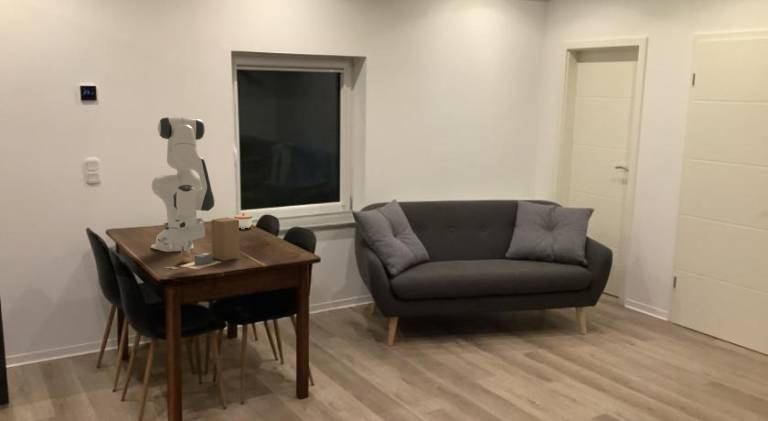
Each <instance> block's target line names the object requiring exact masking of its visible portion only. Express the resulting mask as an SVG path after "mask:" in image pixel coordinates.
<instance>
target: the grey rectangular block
mask: <svg viewBox="0 0 768 421" xmlns="http://www.w3.org/2000/svg"><path fill="white" fill-rule="evenodd" d="M193 258H194V261H195V264H198V265H206V264H209V263H212V262H213V261H214V258H213V254H212V253H208V252H203V253H199V254H196V255H194V257H193Z"/></svg>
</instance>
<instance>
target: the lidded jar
mask: <svg viewBox="0 0 768 421" xmlns="http://www.w3.org/2000/svg"><path fill="white" fill-rule="evenodd" d="M233 219H237V220H239V228H241V229H240V230H246V229H245V228H248V229H249V228H250V227H251V226H252V223H253V215H252V214H247V213H246V214H245V212H242V213H241V214H236V215H234V218H233Z"/></svg>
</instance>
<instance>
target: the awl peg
mask: <svg viewBox="0 0 768 421" xmlns="http://www.w3.org/2000/svg"><path fill="white" fill-rule="evenodd" d="M180 260H181V263H183V264H187V263H190V262H191V250H188V251H184V247H183V245H182V249H181V251H180Z"/></svg>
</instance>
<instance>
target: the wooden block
mask: <svg viewBox="0 0 768 421" xmlns="http://www.w3.org/2000/svg"><path fill="white" fill-rule="evenodd" d="M210 224H211V226H210V228H211V254H213V259H216V260H219V261H228V260H240V257H241V256H240V255H241V254H240V250H241V249H240V229H239V220H237V219H235V218H232V217H228V216H227V217H220V218H219V217H218V218H213V219H212V220H211V222H210Z"/></svg>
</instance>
